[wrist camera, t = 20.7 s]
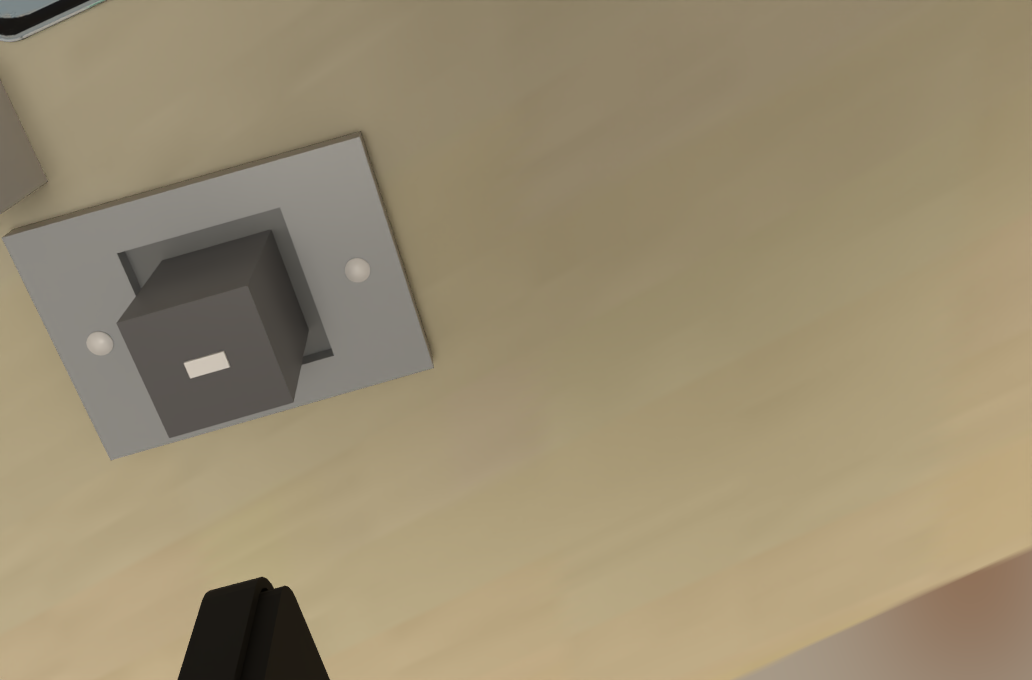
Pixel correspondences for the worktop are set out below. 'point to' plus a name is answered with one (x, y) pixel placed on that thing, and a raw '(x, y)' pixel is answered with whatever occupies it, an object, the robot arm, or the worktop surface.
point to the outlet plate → (211, 221)
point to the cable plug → (16, 158)
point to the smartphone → (36, 15)
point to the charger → (217, 334)
